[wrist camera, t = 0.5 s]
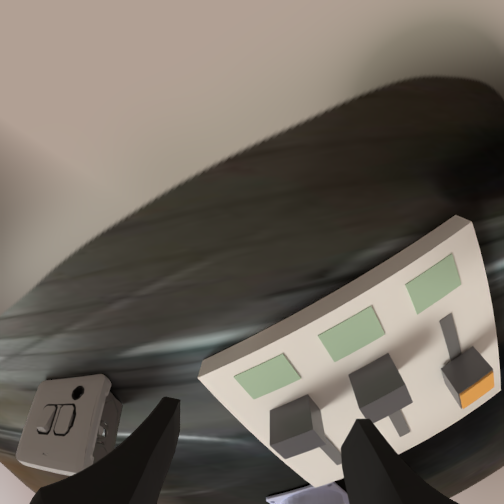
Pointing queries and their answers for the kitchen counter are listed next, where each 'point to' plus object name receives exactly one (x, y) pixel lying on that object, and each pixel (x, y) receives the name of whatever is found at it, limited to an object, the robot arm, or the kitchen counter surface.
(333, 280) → the kitchen counter surface
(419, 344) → the breaker panel
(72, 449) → the electrical switch
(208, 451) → the kitchen counter surface
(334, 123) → the kitchen counter surface
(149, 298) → the kitchen counter surface
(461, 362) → the handle
